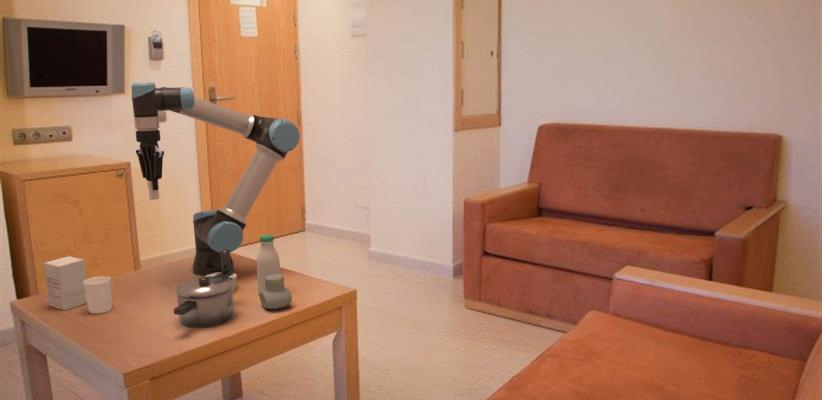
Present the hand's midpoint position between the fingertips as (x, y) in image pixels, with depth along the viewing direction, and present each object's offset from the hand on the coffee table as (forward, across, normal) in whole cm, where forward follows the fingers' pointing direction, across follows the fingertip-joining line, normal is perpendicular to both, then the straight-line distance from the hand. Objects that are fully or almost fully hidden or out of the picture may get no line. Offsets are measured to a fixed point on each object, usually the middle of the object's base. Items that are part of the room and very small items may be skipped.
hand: (154, 199), depth 222 cm
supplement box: (+32, -14, -26) cm, 44 cm away
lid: (+23, +34, -5) cm, 41 cm away
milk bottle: (+33, +34, +18) cm, 51 cm away
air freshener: (+33, +46, +10) cm, 57 cm away
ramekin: (+33, +18, +11) cm, 39 cm away
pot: (+32, +36, -9) cm, 49 cm away
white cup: (+32, 0, -23) cm, 40 cm away
